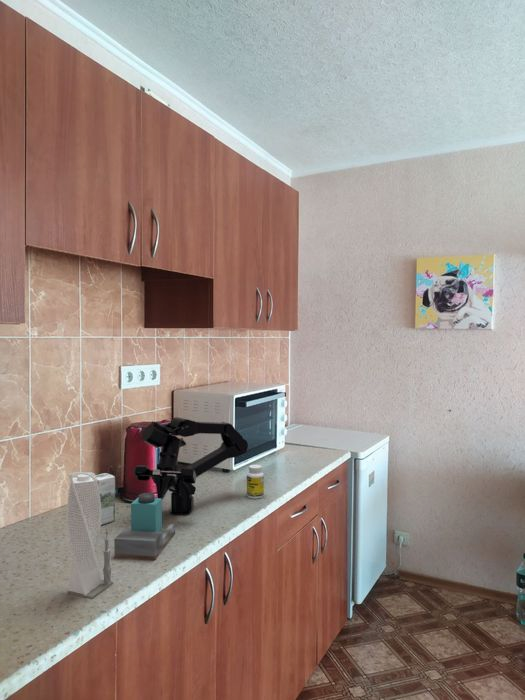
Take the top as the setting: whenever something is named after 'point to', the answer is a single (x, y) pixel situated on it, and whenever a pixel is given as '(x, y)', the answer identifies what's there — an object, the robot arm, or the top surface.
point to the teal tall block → (146, 513)
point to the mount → (142, 543)
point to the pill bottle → (255, 482)
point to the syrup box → (106, 497)
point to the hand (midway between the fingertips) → (159, 500)
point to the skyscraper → (85, 536)
